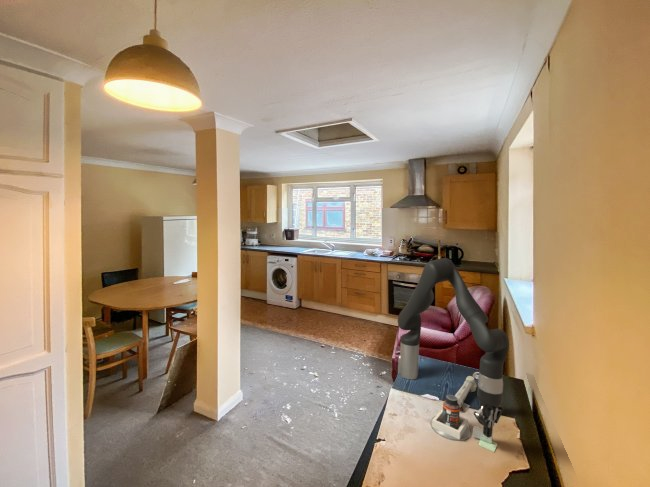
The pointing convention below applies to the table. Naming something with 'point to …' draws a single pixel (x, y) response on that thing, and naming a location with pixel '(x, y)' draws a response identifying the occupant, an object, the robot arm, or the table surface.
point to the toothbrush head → (466, 389)
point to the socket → (450, 428)
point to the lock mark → (488, 445)
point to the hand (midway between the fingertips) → (487, 435)
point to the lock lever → (481, 434)
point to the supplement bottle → (451, 412)
